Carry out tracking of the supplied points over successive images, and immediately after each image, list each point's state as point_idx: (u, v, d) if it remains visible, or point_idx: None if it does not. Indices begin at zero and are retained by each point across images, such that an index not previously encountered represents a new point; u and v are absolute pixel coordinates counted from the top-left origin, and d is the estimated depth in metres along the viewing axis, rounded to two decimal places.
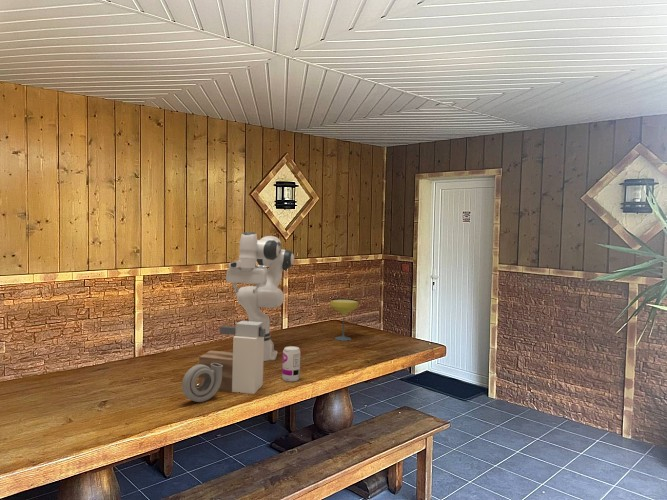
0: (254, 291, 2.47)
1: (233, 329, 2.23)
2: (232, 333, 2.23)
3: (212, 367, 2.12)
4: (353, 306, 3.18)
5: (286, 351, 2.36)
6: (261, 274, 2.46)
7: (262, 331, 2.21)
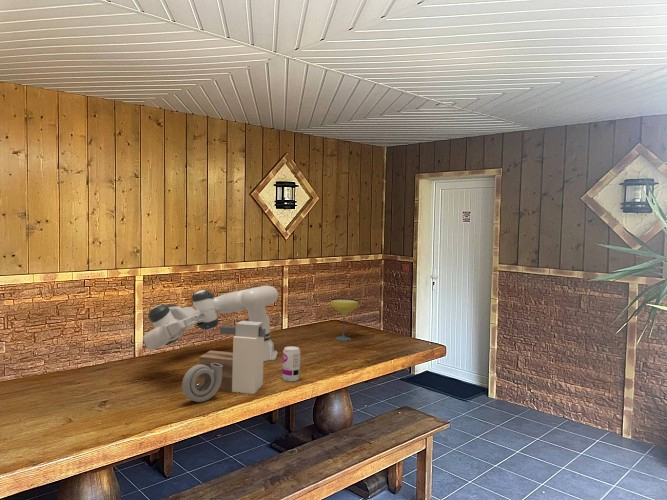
0: (201, 313, 2.32)
1: (233, 329, 2.23)
2: (232, 333, 2.23)
3: (212, 367, 2.12)
4: (353, 306, 3.18)
5: (286, 351, 2.36)
6: None
7: (262, 331, 2.21)
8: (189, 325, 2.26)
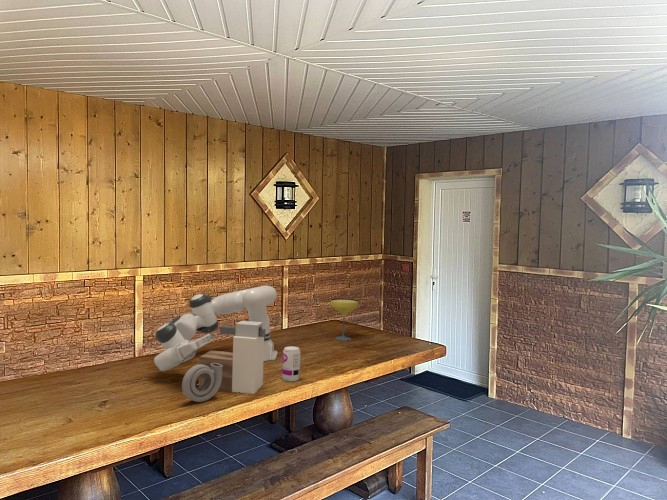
0: None
1: (233, 329, 2.23)
2: (232, 333, 2.23)
3: (212, 367, 2.12)
4: (353, 306, 3.18)
5: (286, 351, 2.36)
6: None
7: (262, 331, 2.21)
8: (201, 346, 2.24)
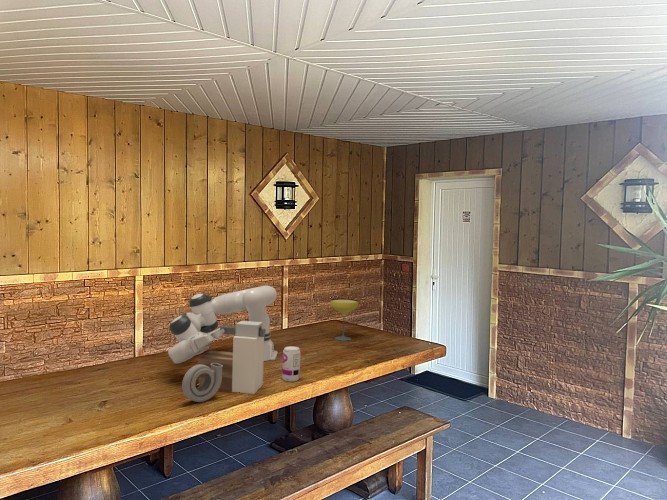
0: None
1: (233, 329, 2.23)
2: (232, 333, 2.23)
3: (212, 367, 2.12)
4: (353, 306, 3.18)
5: (286, 351, 2.36)
6: None
7: (262, 331, 2.21)
8: (216, 338, 2.23)
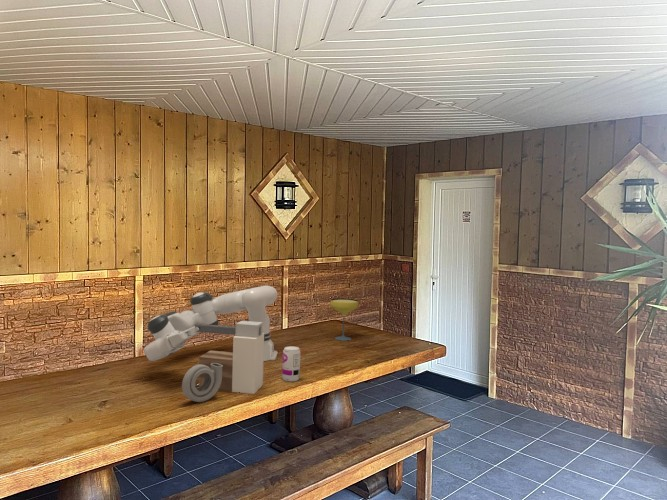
0: None
1: (208, 327, 2.25)
2: (207, 331, 2.25)
3: (212, 367, 2.12)
4: (353, 306, 3.18)
5: (286, 351, 2.36)
6: None
7: None
8: (190, 336, 2.25)
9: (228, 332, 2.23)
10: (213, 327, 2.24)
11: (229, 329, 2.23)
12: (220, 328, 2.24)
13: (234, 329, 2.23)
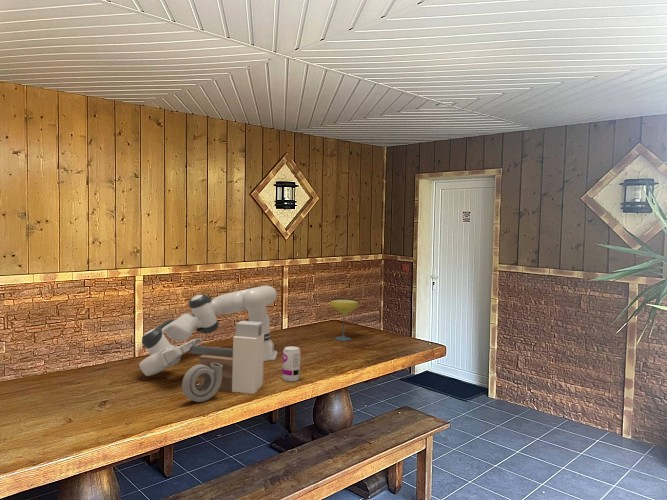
0: None
1: (202, 349, 2.26)
2: (201, 353, 2.26)
3: (212, 367, 2.12)
4: (353, 306, 3.18)
5: (286, 351, 2.36)
6: None
7: (231, 351, 2.24)
8: (186, 351, 2.26)
9: (222, 354, 2.24)
10: (208, 349, 2.25)
11: (223, 351, 2.24)
12: (214, 350, 2.25)
13: (228, 351, 2.24)
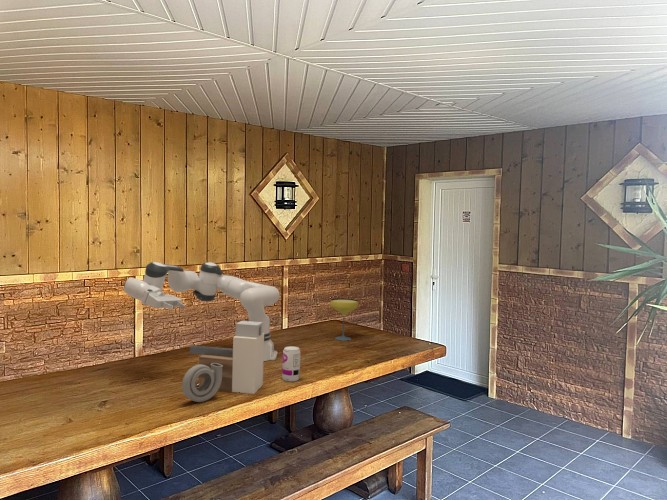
0: (183, 304, 2.38)
1: (202, 349, 2.26)
2: (201, 353, 2.26)
3: (212, 367, 2.12)
4: (353, 306, 3.18)
5: (286, 351, 2.36)
6: (172, 296, 2.43)
7: (231, 351, 2.24)
8: None
9: (222, 354, 2.24)
10: (208, 349, 2.25)
11: (223, 351, 2.24)
12: (214, 350, 2.25)
13: (228, 351, 2.24)
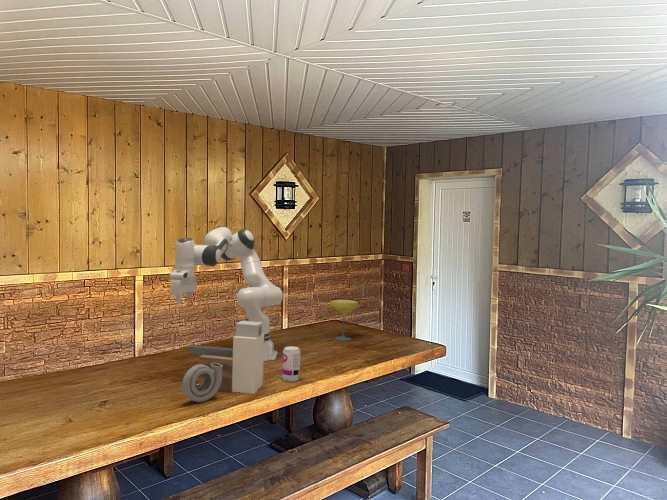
0: (190, 299, 2.41)
1: (202, 349, 2.26)
2: (201, 353, 2.26)
3: (212, 367, 2.12)
4: (353, 306, 3.18)
5: (286, 351, 2.36)
6: (195, 280, 2.44)
7: (231, 351, 2.24)
8: None
9: (222, 354, 2.24)
10: (208, 349, 2.25)
11: (223, 351, 2.24)
12: (214, 350, 2.25)
13: (228, 351, 2.24)
